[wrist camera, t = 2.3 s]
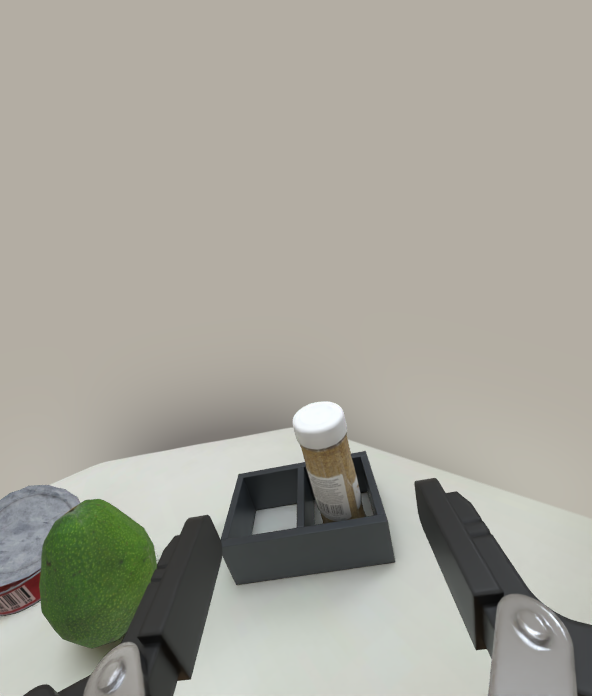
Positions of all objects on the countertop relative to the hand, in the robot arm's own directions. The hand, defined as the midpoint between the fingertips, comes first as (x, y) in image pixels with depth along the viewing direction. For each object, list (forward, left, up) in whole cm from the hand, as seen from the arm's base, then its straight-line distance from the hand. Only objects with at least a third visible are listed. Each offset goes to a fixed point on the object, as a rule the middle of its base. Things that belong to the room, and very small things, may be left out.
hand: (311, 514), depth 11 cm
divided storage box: (+3, -13, -17) cm, 22 cm away
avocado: (+21, -8, -18) cm, 28 cm away
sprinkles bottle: (0, -13, -18) cm, 22 cm away
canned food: (+35, -14, -18) cm, 41 cm away
